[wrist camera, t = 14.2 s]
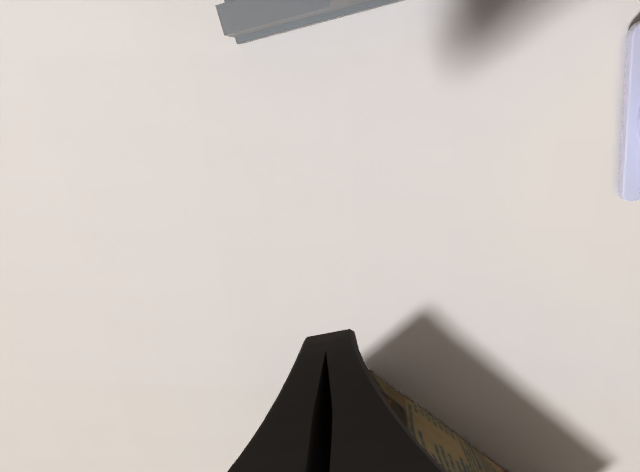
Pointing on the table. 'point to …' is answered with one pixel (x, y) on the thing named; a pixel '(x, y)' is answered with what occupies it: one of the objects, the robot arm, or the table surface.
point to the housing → (284, 15)
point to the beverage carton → (436, 435)
